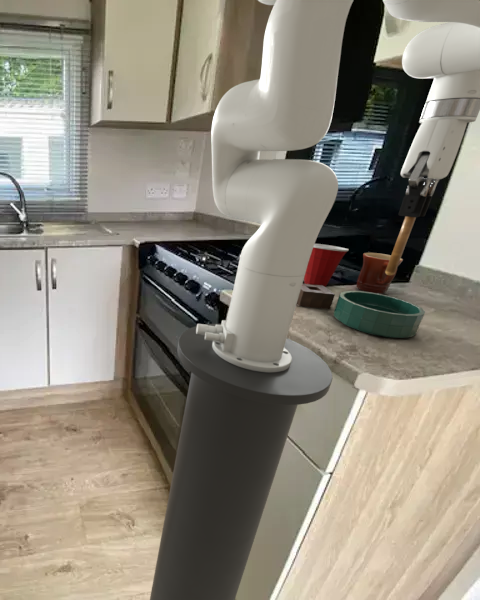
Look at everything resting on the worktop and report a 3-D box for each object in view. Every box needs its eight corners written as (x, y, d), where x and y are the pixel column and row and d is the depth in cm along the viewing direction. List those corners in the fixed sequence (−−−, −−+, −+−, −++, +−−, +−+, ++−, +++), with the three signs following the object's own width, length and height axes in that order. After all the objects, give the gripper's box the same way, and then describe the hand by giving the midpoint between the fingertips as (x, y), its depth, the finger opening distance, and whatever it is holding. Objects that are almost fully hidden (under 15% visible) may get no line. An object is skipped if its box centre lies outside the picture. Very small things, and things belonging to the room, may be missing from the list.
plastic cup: (338, 284, 107) (351, 245, 103) (333, 292, 100) (347, 251, 95) (298, 276, 114) (309, 239, 109) (290, 283, 106) (301, 244, 102)
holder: (299, 306, 88) (303, 291, 87) (290, 296, 95) (294, 282, 93) (330, 309, 87) (335, 294, 86) (318, 299, 93) (323, 285, 92)
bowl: (350, 334, 74) (359, 310, 72) (322, 309, 87) (329, 288, 85) (432, 344, 71) (443, 319, 69) (389, 316, 84) (398, 295, 82)
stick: (386, 276, 75) (418, 187, 68) (380, 273, 77) (411, 186, 70) (397, 277, 74) (432, 187, 68) (391, 274, 76) (424, 187, 70)
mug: (347, 284, 108) (358, 251, 104) (380, 288, 106) (393, 254, 102) (364, 297, 97) (377, 261, 93) (401, 301, 95) (416, 265, 91)
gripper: (436, 119, 71) (402, 212, 78) (407, 110, 63) (372, 215, 70) (490, 116, 65) (448, 217, 72) (465, 106, 57) (421, 221, 64)
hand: (411, 215), depth 71 cm, fingers closed on stick, 2 cm apart
